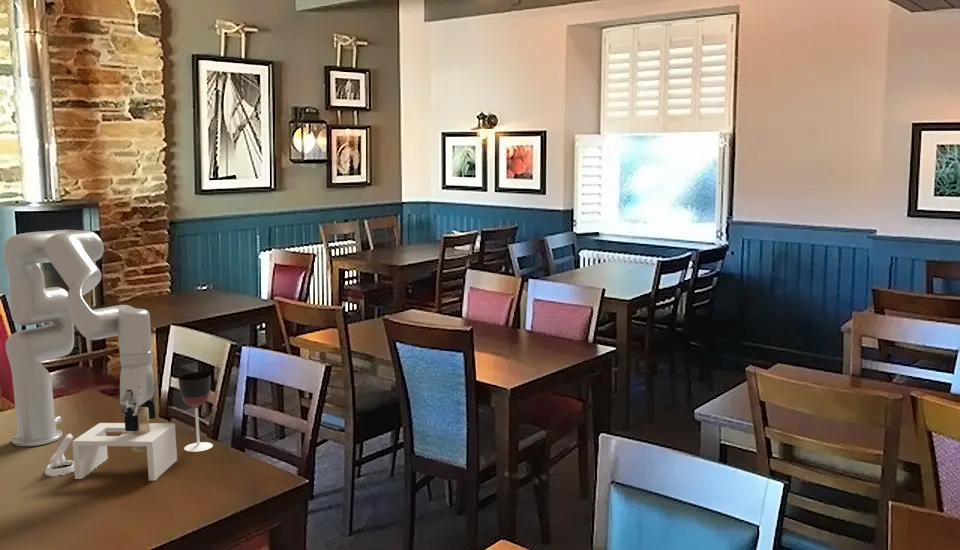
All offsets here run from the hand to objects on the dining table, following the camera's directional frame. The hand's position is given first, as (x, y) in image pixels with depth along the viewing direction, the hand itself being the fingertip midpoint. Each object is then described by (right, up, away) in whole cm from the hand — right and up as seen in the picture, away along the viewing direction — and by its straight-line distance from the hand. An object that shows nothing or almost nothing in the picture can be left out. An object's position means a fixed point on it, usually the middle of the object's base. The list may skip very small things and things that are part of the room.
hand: (140, 424), depth 213 cm
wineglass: (+8, -10, +18) cm, 22 cm away
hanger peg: (0, -6, +1) cm, 6 cm away
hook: (-21, -12, +2) cm, 24 cm away
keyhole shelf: (-4, -12, +2) cm, 13 cm away
